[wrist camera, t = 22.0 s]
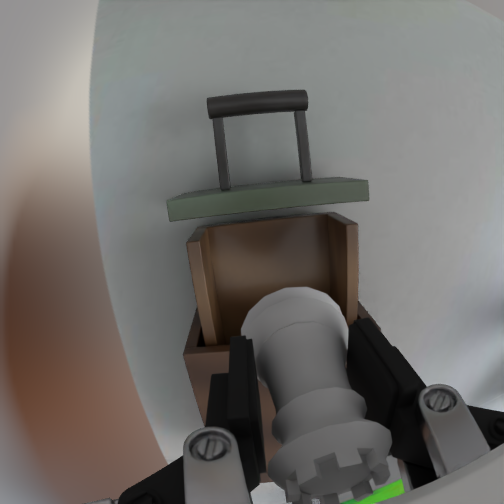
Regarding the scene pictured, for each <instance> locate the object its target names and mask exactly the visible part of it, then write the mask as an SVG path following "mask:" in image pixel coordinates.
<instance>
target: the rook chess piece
mask: <svg viewBox="0 0 504 504" xmlns="http://www.w3.org/2000/svg"><path fill="white" fill-rule="evenodd" d="M243 335H246V339H252V341H253V348H254V356H255V364H256V371H257V379H258V380H259V381H261V383H262V384H263V385H264V386H265V387H267V388H268V389H269V392H270V395H271V398H272V400H273V403H274V406H275V409H276V416H275V418H274V419H273V421H272V435H273V436H274V437H275V439H276V440H277V442H278V443H280V444H282V446H281V448H280V449H279V450H278V451H277V453H276V454H275V455H274V456H273V458H272V459H271V460H270V461H269V462H268V476H269V477H270V478H271V479H272V481H273V482H274V483H275V484H276V485H278V486H279V487H280V488H282V489H283V490H285V495H286V502H287V503H288V502H292V504H312V499H319V500H320V504H340V502H339V498H338V495H340V494H343V493H346V492H349V491H352V494H353V497H354V500H356V501H357V502H359V501H361V500H363V499H365V498H366V497H368V496H370V495H372V494H374V493H373V490H372V488H371V485H370V482H369V481H370V480H371V479H372V478H373V480H374V483H375V486H377V485H382V484H385V483H386V482H387V480H388V478H389V477H390V475H391V474H390V471H389V469H388V467H389V465H388V463H387V460H386V458H387V456H388V453H389V450H390V448H391V445H392V438H391V432H390V430H388V429H387V428H385V427H384V426H382V425H381V424H379V423H377V422H373V421H370V420H366V419H364V418H365V415H366V412H367V406H366V403H365V400H364V398H363V397H362V396H361V395H359V394H358V393H356V392H355V391H354V390H352V389H351V386H350V384H349V380H348V376H347V372H346V368H345V365H346V359H347V349H348V327H347V324H346V321H345V318H344V316H343V315H342V313H341V310H340V307H339V305H337V304H336V303H335V302H334V301H333V300H332V299H331V298H330V297H329V296H328V295H327V294H326V293H323V292H321V291H318V290H315V289H312V288H309V287H292V288H283V289H281V290H279V291H276V292H274V293H272V294H269V295H267V296H264V297H263V298H262V299H261V300H260V301H259V302H258V303H257V304H256V305H255V306H254V307H253V308H252V309H251V310H250V311H249V312H248V314H247V316H246V319H245V321H244V323H243V326H242V328H241V336H243Z"/></svg>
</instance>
